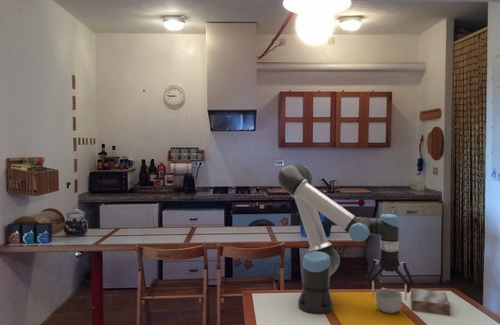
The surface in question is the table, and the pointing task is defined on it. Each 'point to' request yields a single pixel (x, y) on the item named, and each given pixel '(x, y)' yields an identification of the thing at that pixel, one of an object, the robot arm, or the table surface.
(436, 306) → the walnut riser
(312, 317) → the table surface
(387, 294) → the teacup
